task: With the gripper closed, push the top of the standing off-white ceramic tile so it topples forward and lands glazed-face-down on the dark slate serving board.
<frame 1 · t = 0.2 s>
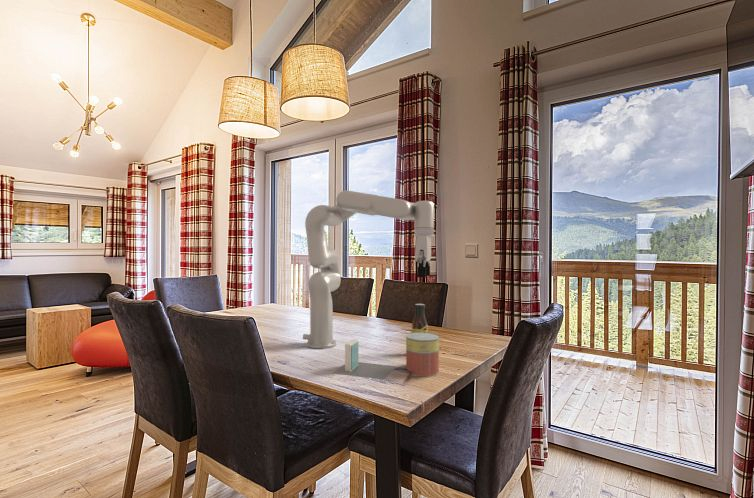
hand: (423, 276, 150), 31 cm above the table, tool pointing down, fingers open, 9 cm apart
slate board: (365, 372, 130), on the table
sauce bottle: (419, 354, 151), on the table
canned food: (422, 371, 132), on the table
tile: (351, 368, 131), point 1 cm above the table, touching slate board
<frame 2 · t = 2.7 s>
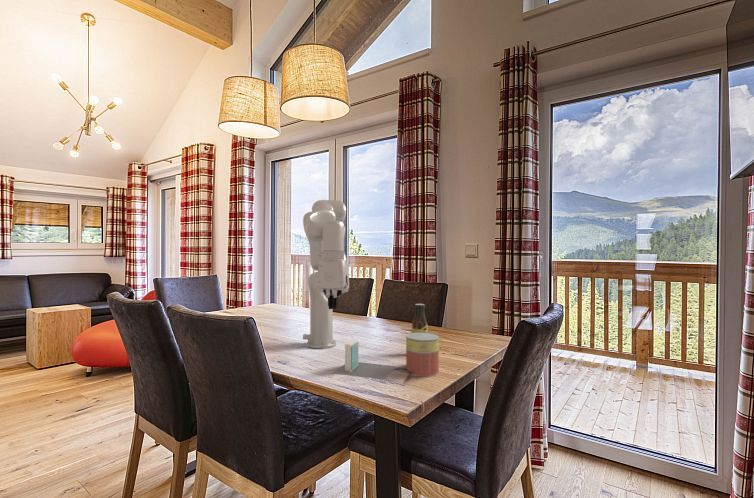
hand: (333, 308, 133), 21 cm above the table, tool pointing down, fingers closed
nothing on the table moved.
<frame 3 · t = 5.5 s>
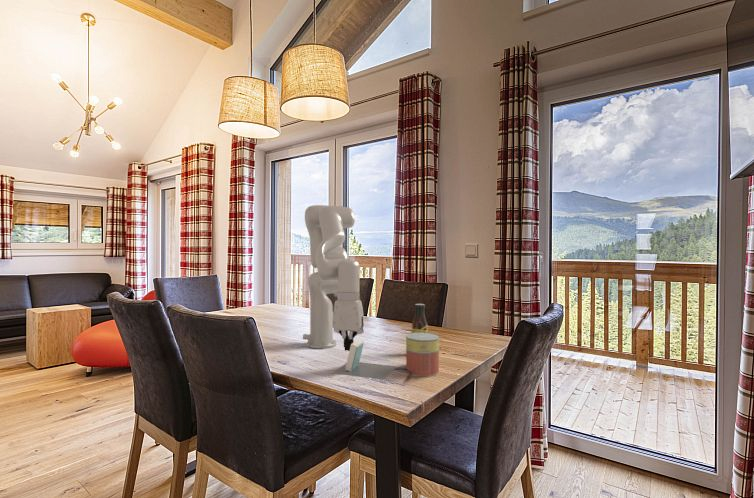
hand: (348, 349, 132), 7 cm above the table, tool pointing down, fingers closed
tile: (351, 367, 131), point 1 cm above the table, tilted 14°, touching slate board
everything else where it was.
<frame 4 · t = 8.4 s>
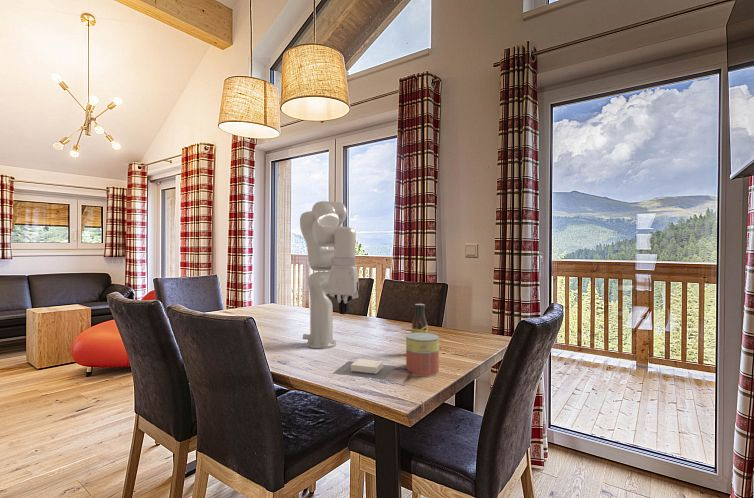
hand: (343, 313, 136), 19 cm above the table, tool pointing down, fingers closed
tile: (354, 364, 131), point 2 cm above the table, tilted 90°, touching slate board
everything else where it was.
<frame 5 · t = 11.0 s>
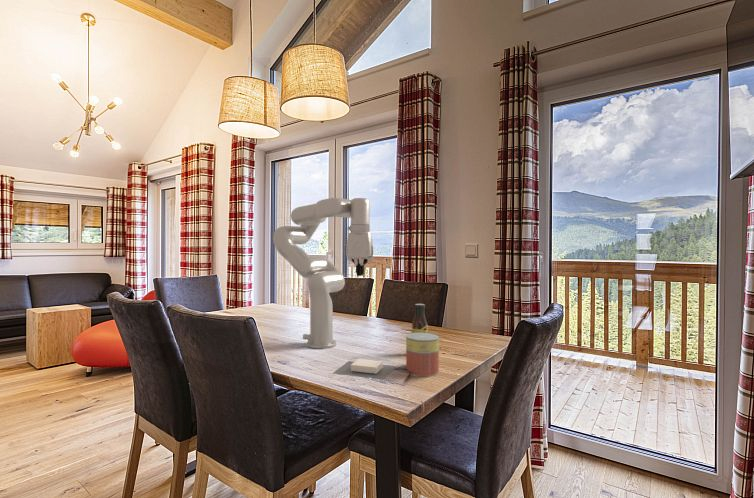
hand: (360, 275, 152), 31 cm above the table, tool pointing down, fingers closed
nothing on the table moved.
at the end: tile tilted 90°; tile inside the target area on the slate board (3.8 cm from its centre), point 2.3 cm above the slate board's base; tile touching slate board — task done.
